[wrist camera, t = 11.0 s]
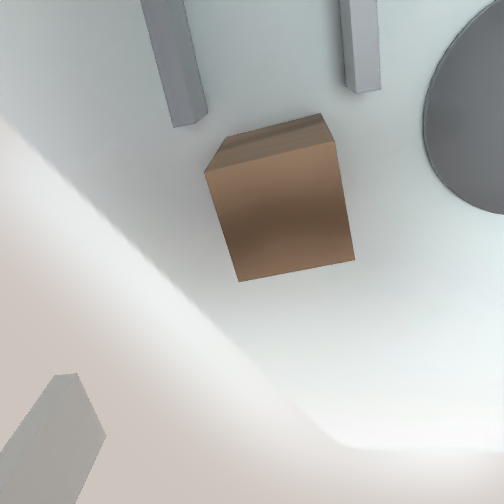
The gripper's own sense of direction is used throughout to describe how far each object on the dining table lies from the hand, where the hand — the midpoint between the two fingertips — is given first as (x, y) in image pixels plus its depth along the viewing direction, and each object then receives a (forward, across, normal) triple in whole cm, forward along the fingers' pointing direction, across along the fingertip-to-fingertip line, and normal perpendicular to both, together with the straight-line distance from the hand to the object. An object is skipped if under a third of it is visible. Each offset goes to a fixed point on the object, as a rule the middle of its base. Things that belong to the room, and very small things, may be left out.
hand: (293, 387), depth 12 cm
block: (+17, 0, +2) cm, 17 cm away
